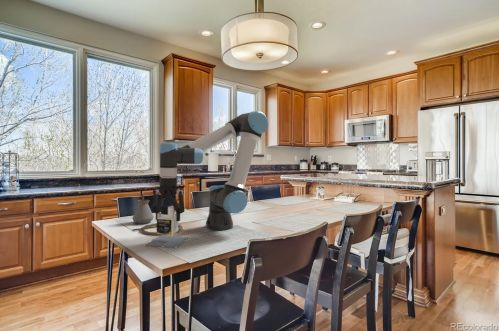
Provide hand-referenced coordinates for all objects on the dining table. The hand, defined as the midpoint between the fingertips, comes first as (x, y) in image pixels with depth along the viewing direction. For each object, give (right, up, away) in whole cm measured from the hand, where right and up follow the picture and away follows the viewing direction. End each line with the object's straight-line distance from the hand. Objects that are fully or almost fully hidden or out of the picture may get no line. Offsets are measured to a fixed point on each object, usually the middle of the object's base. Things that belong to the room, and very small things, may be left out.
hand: (167, 227), depth 126 cm
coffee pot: (-27, -5, +40) cm, 49 cm away
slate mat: (0, -7, 0) cm, 7 cm away
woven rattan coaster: (-9, -6, +21) cm, 23 cm away
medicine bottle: (0, -2, 0) cm, 2 cm away
